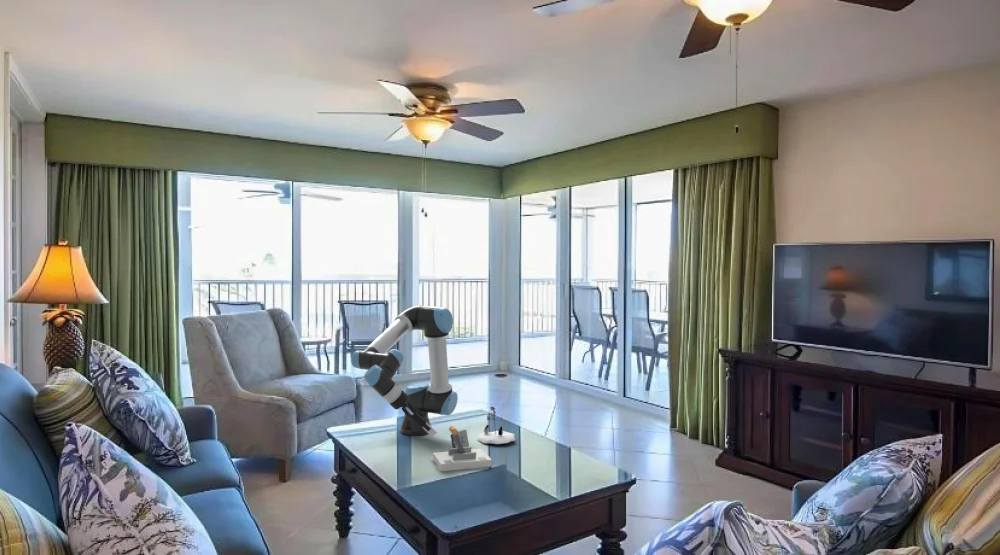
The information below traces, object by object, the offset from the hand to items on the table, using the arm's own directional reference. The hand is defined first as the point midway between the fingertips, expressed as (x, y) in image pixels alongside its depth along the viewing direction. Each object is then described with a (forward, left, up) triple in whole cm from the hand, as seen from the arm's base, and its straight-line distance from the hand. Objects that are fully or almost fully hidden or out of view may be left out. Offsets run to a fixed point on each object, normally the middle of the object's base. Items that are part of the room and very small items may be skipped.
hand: (434, 434), depth 244 cm
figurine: (-26, +38, -14) cm, 48 cm away
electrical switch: (-18, +17, -14) cm, 28 cm away
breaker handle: (0, +13, -9) cm, 15 cm away
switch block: (0, +13, -13) cm, 18 cm away
